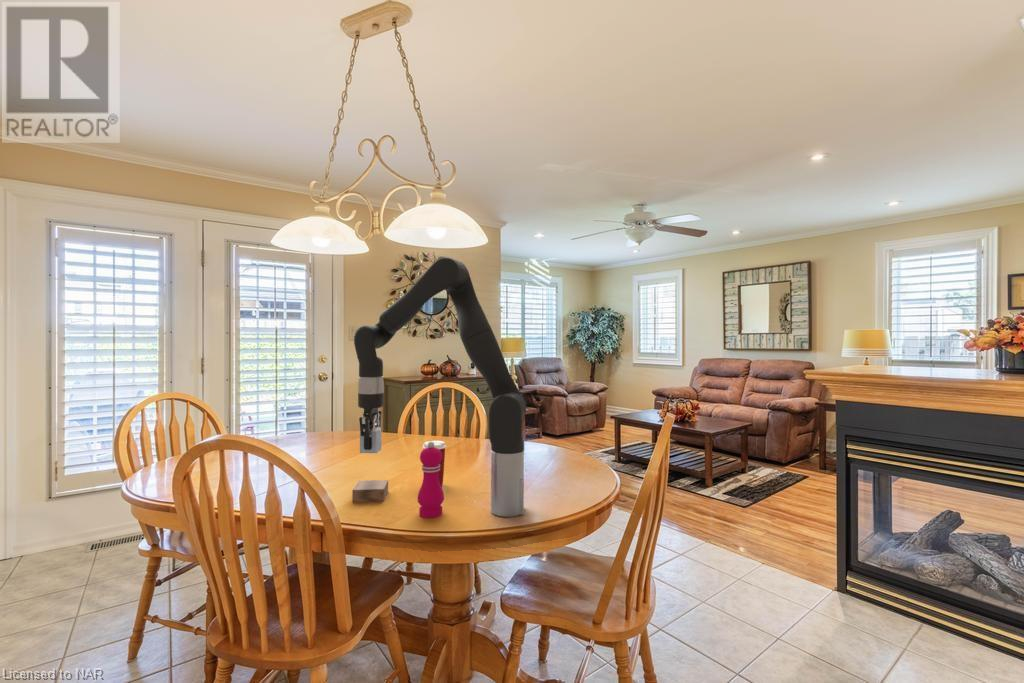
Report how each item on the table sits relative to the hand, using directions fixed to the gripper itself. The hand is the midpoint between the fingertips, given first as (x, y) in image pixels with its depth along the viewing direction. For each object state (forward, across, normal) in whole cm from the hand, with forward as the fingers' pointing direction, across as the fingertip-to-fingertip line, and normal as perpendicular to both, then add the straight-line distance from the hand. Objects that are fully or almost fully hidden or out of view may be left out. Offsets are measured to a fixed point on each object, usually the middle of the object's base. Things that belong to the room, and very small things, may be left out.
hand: (370, 447), depth 147 cm
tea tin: (+1, 0, 0) cm, 1 cm away
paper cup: (+15, +12, -17) cm, 26 cm away
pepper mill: (+15, -13, -21) cm, 29 cm away
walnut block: (+16, 0, 0) cm, 16 cm away
